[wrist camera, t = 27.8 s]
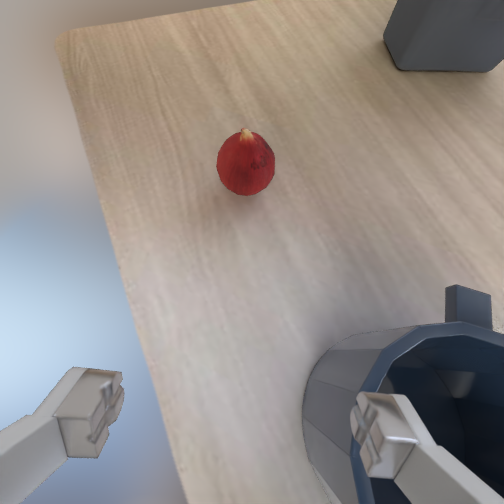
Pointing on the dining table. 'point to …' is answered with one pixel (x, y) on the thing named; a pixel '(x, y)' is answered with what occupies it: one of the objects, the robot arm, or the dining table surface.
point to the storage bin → (446, 35)
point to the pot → (412, 396)
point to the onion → (245, 163)
